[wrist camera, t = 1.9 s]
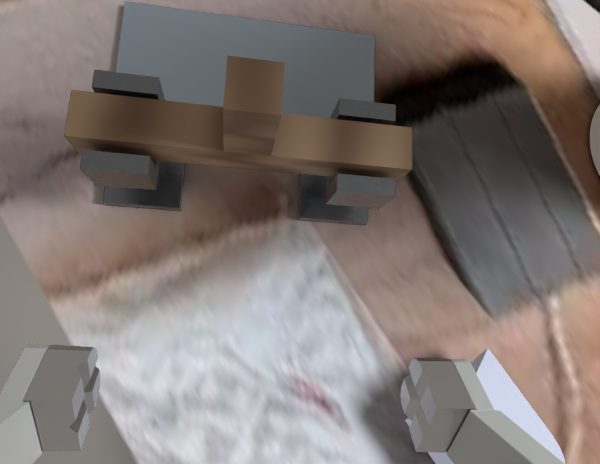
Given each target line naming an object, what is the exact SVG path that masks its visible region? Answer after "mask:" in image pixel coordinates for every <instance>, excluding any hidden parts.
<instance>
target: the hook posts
mask: <svg viewBox="0 0 600 464" xmlns="http://www.w3.org/2000/svg"><path fill="white" fill-rule="evenodd" d="M92 88H93V90H94V92H95V93H102V94H112V95H121V96H130V97H139V98H148V99H157V100H165V97H164V94H163V90H162V86H161V82H160V79H159V77H152V76H144V75H135V74H127V73H118V72H110V71H101V70H94V76H93V83H92ZM330 119H339V120H348V121H357V122H366V123H375V124H385V125H393V123H394V122H395V121H396V105H393V104H384V103H376V102H367V101H359V100H350V99H341V98H340V99H339V101H338V103H337V105H336V107H335V109H334V111H333V113H332V114H331V116H330ZM80 169H81V170H82V171H83V172H84V173H85V174H86V175H87V176H88V177H89V179H90V180H91V181H92V182H93V183H94V184H95V185H101V186H105V191H104V198H103V203H104V204H105V205H112V206H124V207H137V208H150V209H163V210H176V211H181V202H182V192H183V182H184V172H185V163H178V162H167V161H156V160H152V159H151V157H150V156H144V155H133V154H122V153H112V152H101V151H90V150H83V152H82V159H81V166H80ZM394 197H395V179H391V178H380V177H369V176H358V175H348V174H337V175H336V176H335V177H330V176H319V175H308V174H300V191H299V213H298V220H304V221H317V222H330V223H343V224H356V225H366V224H367V223H368V208H377V209H379V208H380V207H382V206H383V205H384V204H386V203H387V202H388V201H390V200H391V199H392V198H394Z"/></svg>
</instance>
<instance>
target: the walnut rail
mask: <svg viewBox="0 0 600 464" xmlns="http://www.w3.org/2000/svg"><path fill="white" fill-rule="evenodd" d="M284 65H285V63H284V62H276V61H268V60H260V59H252V58H244V57H236V56H228V55H227V67H226V79H225V91H224V103H223V107H221V106H212V105H203V104H193V103H184V102H175V101H166V100H157V99H148V98H139V97H130V96H121V95H112V94H102V93H93V92H84V91H75V90H71V95H70V102H69V108H68V115H67V121H66V128H65V134H64V136H65V137H66V138H67V140H68V141H69V142H70V143H71V144H72V145H73V147H74V148H75V149H76V150H77V151H78V153H80V154H82V152H83V150H90V151H101V152H112V153H122V154H133V155H144V156H150V157H151V159H152V160H156V161H167V162H178V163H189V164H200V165H211V166H221V167H232V168H243V169H254V170H265V171H276V172H287V173H297V174H308V175H319V176H330V177H335V176H336V175H337V174H348V175H358V176H369V177H380V178H391V179H395V183H397V182H398V181H399V180H400V179H402V178H403V177H404V176H405V175H406V174H408V173H409V172H410V171H411V170H412V127H403V126H394V125H385V124H375V123H366V122H357V121H348V120H339V119H330V118H321V117H312V116H303V115H294V114H284V113H282V101H283V83H284Z"/></svg>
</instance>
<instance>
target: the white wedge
mask: <svg viewBox="0 0 600 464" xmlns="http://www.w3.org/2000/svg"><path fill="white" fill-rule="evenodd" d="M471 364H472V366H473V368H474V370H475V372H476V374H477V376H478V378H479V380H480V382H481V384H482V386H483V388H484V390H485V392H486V394H487V396H488V398H489V400H490V402H491V404H492V406H493V408H494V410H500V411H501V412H502V413H503V414H505V415H506V416H507V417H508V418H510V419H511V420H512V421H513V422H514V423H516V424H517V425H518V426H519V427H521V428H522V429H523V430H524V431H525V432H527V433H528V434H529V435H530V436H531V437H533V438H534V439H535V440H536V441H538V442H539V443H540V444H541V445H542V446H544V447H545V448H546V449H547V450H549V451H550V452H551V453H552V454H553V455H555V456H556V457H557V458H558V459H559V460H561V461H562V462H563V463H564V464H565V460H564V457H563V454H562V451H561V449H560V447H559V445H558V443H557V442H556V440H555V438H554V437H553V435H552V434H551V433H550V431H549V430H548V429H547V427H546V426H545V425H544V423H543V422H542V421H541V419H540V418H539V416H538V415H537V414H536V412H535V411H534V410H533V408H532V407H531V406H530V404H529V403H528V402H527V400H526V399H525V397H524V396H523V395H522V393H521V392H520V391H519V389H518V388H517V387H516V385H515V384H514V383H513V381H512V380H511V378H510V377H509V376H508V374H507V373H506V372H505V370H504V369H503V368H502V366H501V365H500V364H499V362H498V361H497V359H496V358H495V357H494V355H493V354H492V353H491V351H490V350H489V349H488V348H487V349H486V350H485V351H484V352H483V353H482V354H481V355H479V356H478V357H477V358H476V359H475V360H474V361H472V362H471ZM405 421H406V423H407V424H408V426H409V427H410V424H411V422H412V421H411V420H410V419H409V418H407V419H406V420H405ZM428 454H429V455H430V457H431V458H432V459H433V461H434V462H435V464H454V463H453V462H452V460H451V459H450V458H449V457H448V456H447V455H446V454H447V453H439V452H428Z"/></svg>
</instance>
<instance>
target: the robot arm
mask: <svg viewBox="0 0 600 464" xmlns="http://www.w3.org/2000/svg"><path fill="white" fill-rule="evenodd" d="M590 149H591V154H592V158H593V161H594V164H595V167H596V169H597V171H598V174H599V175H600V105H599V106H598V108H597V109H596V111H595V113H594V116H593V119H592V122H591V127H590ZM97 358H98V356H97V350H96V348H94V347H81V346H63V345H41V344H28V346H26V347H25V348H24V349H23V351H22V353H21V355H20V357H19V358H18V360H17V362H16V364H15V366H14V368H13V370H12V372H11V373H10V375H9V377H8V379H7V381H6V383H5V385H4V387H3V388H2V390H1V392H0V464H32V463H33V462H35V461H36V459H37V458H38V457H39V456H40V455H41V454H42V451H80V450H81V448H82V446H83V442H84V439H85V436H86V433H87V430H88V427H89V421H88V414H89V413H90V412H91V411H92V410H93V409H94V408H95V405H96V402H97V398H98V393H99V388H100V371H99V369H98V368H97V367H95V364H96V361H97ZM408 368H409V371H410V374H409V375H408V376H407V377H405V378H404V380H403V383H402V386H401V396H400V397H401V404H402V408H403V412H404V414H405V415H406V416H407V417H408V418H409V419H410V420H411V421H412V422H411V424H410V427H409V431H410V434H411V438H412V441H413V444H414V447H415V450H416V452H439V453H447V454H446V455H447V456H448V457H449V458H450V459H451V460H452V462H453V463H454V464H564V463H563V462H562V461H561V460H559V459H558V458H557V457H556V456H555V455H553V454H552V453H551V452H550V451H549V450H547V449H546V448H545V447H544V446H542V445H541V444H540V443H539V442H538V441H536V440H535V439H534V438H533V437H531V436H530V435H529V434H528V433H527V432H525V431H524V430H523V429H522V428H521V427H519V426H518V425H517V424H516V423H514V422H513V421H512V420H511V419H510V418H508V417H507V416H506V415H505V414H503V413H502V412H501V411H500V410H494V408H493V406H492V404H491V402H490V400H489V398H488V396H487V394H486V392H485V390H484V388H483V386H482V384H481V382H480V380H479V378H478V376H477V374H476V372H475V370H474V368H473V366H472V364H471V362H469V361H468V360H467V359H438V358H414V359H413V360H412V361H411V362H410V365H409V367H408Z"/></svg>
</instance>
